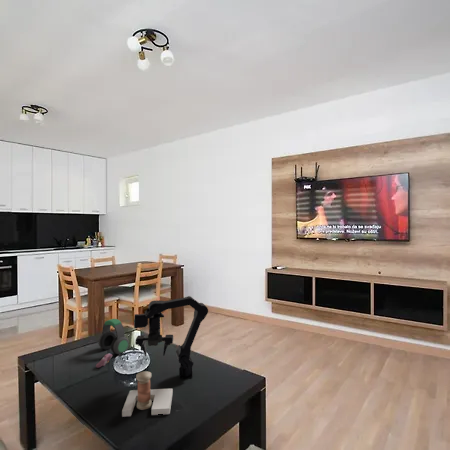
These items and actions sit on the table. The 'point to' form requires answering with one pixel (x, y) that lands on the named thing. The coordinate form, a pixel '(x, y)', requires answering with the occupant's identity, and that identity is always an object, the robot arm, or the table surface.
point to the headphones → (113, 337)
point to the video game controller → (104, 360)
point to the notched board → (158, 395)
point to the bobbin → (144, 390)
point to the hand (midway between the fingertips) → (154, 355)
